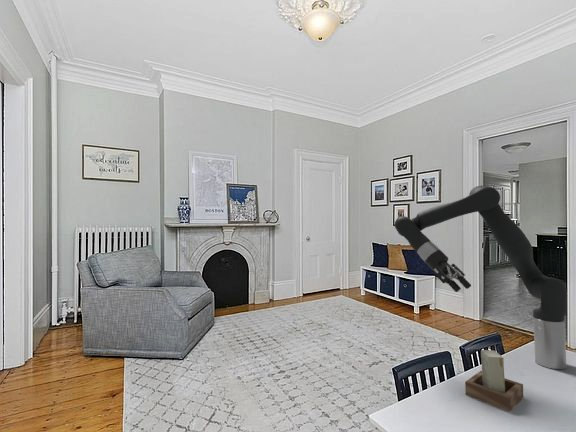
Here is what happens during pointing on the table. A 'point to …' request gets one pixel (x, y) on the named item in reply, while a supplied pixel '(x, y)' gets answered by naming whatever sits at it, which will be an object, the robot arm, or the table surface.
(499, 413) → the table surface
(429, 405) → the table surface
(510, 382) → the block
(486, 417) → the table surface
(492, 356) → the skincare box
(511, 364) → the table surface
